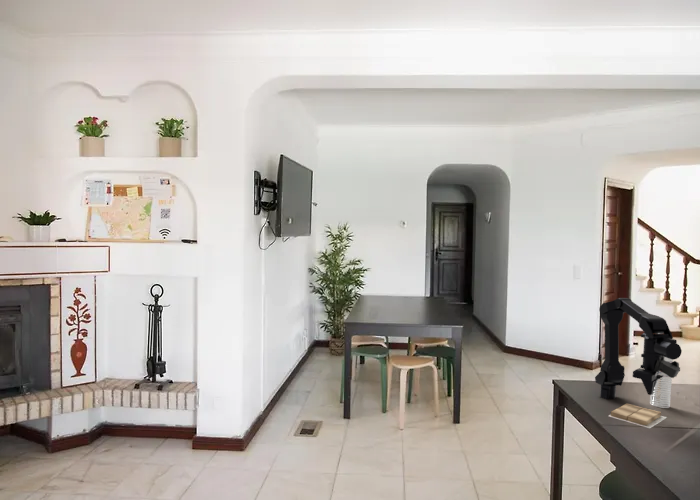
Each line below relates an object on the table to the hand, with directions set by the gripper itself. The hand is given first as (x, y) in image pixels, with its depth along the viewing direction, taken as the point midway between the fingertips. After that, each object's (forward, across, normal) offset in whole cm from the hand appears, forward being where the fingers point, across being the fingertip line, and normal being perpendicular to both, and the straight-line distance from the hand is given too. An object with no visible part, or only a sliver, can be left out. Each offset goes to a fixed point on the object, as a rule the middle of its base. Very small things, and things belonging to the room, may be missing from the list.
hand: (649, 394), depth 183 cm
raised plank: (+9, -1, +1) cm, 9 cm away
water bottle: (+10, +21, +3) cm, 24 cm away
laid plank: (+9, -1, +7) cm, 12 cm away
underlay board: (+10, -1, +3) cm, 11 cm away
